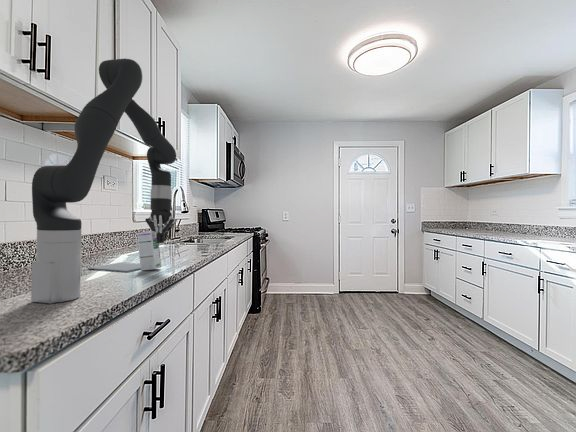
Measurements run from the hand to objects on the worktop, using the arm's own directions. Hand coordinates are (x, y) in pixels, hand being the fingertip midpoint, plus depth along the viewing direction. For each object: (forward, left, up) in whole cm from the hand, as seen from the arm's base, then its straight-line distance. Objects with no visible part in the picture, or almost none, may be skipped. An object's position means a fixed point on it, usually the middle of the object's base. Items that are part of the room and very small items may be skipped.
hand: (160, 242), depth 128 cm
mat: (0, +17, -11) cm, 20 cm away
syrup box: (0, +4, -10) cm, 11 cm away
